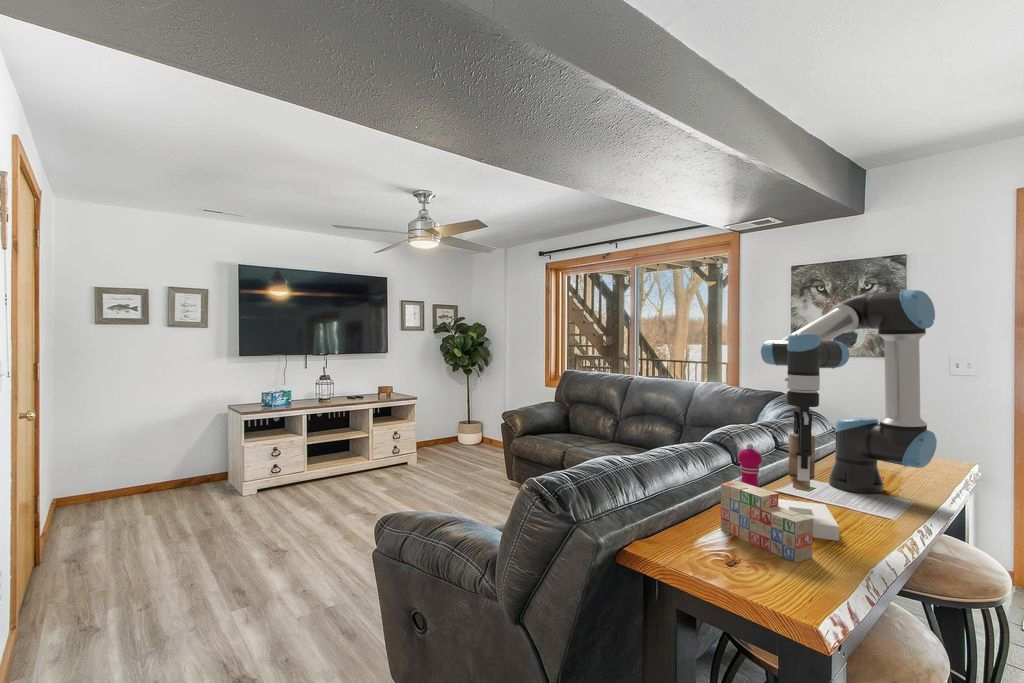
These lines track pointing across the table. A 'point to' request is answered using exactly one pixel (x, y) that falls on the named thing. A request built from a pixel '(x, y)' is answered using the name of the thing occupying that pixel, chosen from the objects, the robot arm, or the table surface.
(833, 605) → the table surface
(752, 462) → the pepper mill
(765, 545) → the stack of blocks
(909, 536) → the table surface
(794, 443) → the walnut peg
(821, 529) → the cream board
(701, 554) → the table surface
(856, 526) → the table surface
